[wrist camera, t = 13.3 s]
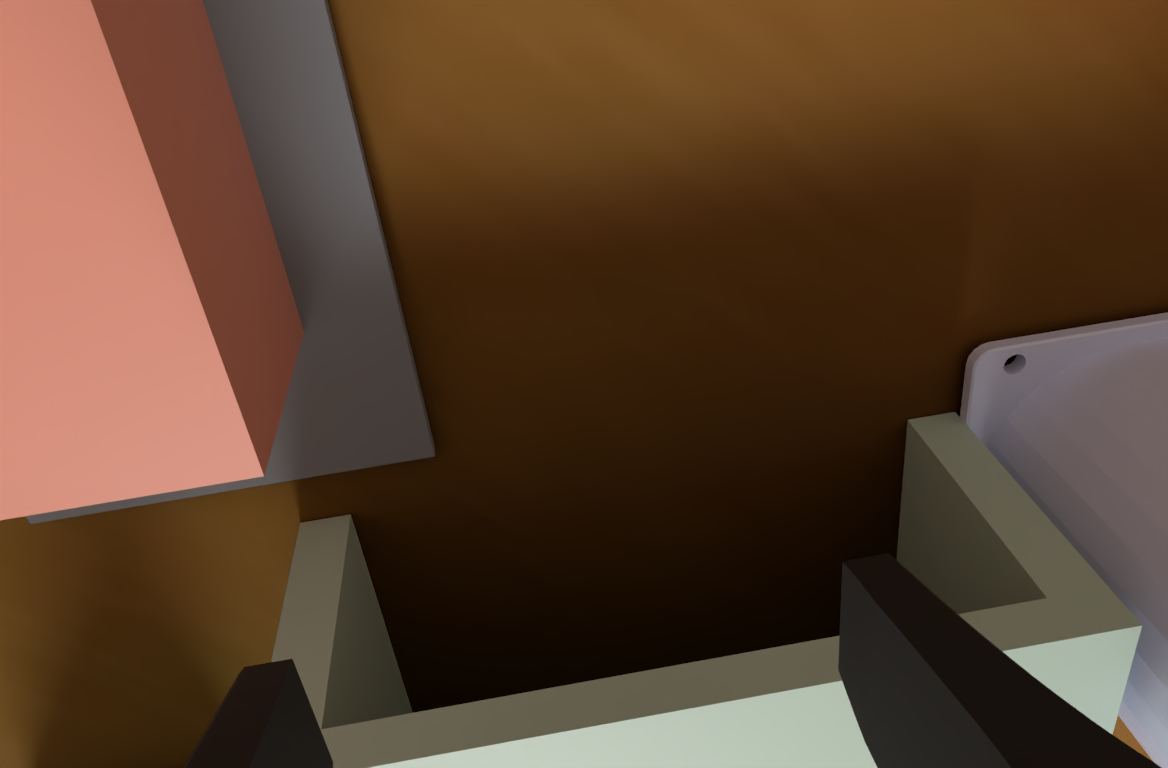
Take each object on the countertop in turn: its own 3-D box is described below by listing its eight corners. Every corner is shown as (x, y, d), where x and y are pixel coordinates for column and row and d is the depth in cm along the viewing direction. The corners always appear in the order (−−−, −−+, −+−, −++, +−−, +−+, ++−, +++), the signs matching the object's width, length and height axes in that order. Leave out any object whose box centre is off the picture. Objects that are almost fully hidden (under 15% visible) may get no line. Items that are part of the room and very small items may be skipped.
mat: (163, -682, 12) (155, -697, 12) (434, 446, 21) (434, 456, 21) (-564, -606, 12) (-594, -619, 11) (36, 513, 21) (30, 524, 21)
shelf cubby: (955, 411, 23) (1142, 625, 17) (926, 666, 28) (1065, 906, 21) (300, 523, 22) (243, 790, 16) (385, 765, 27) (367, 1045, 21)
